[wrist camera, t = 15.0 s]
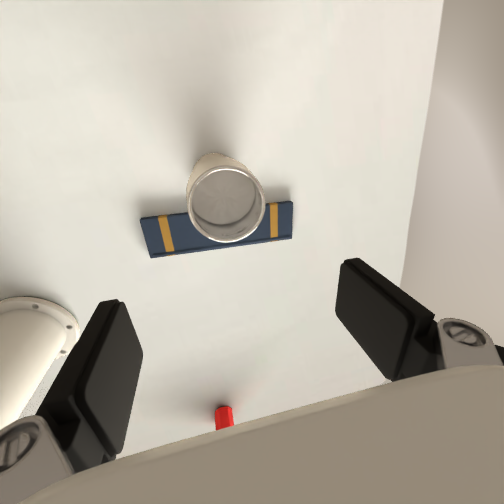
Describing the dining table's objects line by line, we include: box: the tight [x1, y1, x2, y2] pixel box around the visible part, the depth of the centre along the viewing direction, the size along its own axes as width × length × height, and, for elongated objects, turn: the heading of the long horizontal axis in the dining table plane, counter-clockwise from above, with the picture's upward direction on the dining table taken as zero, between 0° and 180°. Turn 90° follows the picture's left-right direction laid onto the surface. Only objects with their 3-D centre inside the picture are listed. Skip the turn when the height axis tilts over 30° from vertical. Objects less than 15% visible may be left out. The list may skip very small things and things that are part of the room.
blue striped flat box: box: [140, 201, 293, 258], centre depth 36 cm, size 22×6×1 cm, turn 93°
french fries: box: [215, 406, 234, 430], centre depth 52 cm, size 9×4×13 cm, turn 179°
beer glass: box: [186, 153, 265, 242], centre depth 26 cm, size 7×7×15 cm
